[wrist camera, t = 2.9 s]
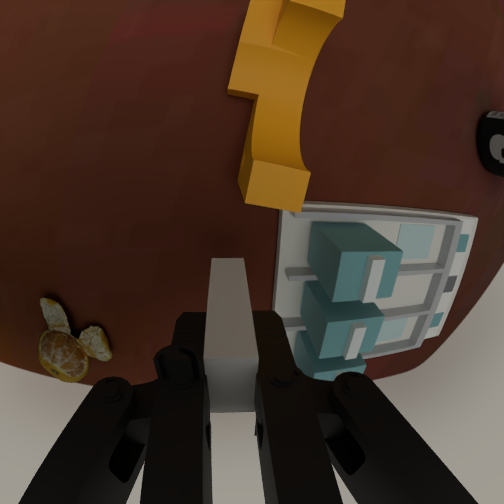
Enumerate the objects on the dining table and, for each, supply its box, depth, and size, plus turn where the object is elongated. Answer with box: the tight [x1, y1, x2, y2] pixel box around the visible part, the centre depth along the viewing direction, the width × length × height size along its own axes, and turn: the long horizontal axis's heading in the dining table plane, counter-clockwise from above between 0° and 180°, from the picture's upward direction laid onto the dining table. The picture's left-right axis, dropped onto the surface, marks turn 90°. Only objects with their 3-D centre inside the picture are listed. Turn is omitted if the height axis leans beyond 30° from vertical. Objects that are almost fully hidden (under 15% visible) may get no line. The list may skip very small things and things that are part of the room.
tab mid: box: [300, 280, 385, 360], centre depth 18 cm, size 4×3×6 cm
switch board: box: [272, 201, 478, 366], centre depth 21 cm, size 20×14×2 cm
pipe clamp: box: [227, 0, 345, 213], centre depth 13 cm, size 12×4×6 cm, turn 168°
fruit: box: [37, 298, 112, 383], centre depth 20 cm, size 8×8×4 cm
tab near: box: [308, 222, 403, 303], centre depth 16 cm, size 4×3×6 cm
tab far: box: [293, 330, 366, 381], centre depth 20 cm, size 4×3×6 cm
